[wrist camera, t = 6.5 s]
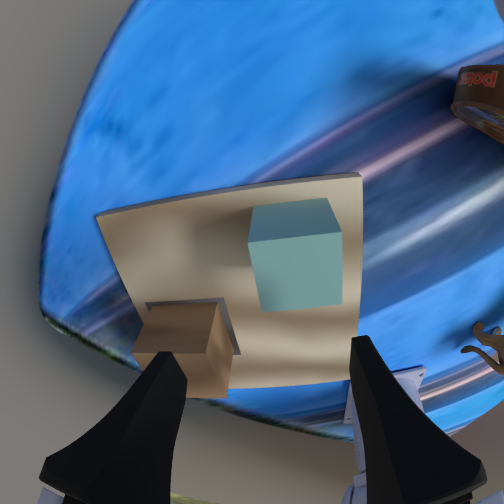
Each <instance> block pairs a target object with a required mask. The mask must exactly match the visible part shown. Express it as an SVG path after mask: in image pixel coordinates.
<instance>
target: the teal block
mask: <svg viewBox="0 0 504 504" xmlns="http://www.w3.org/2000/svg"><path fill="white" fill-rule="evenodd" d="M247 243H248V248H249V253H250V258H251V262H252V267H253V272H254V277H255V282H256V287H257V292H258V296H259V301H260V306H261V311H262V313H264V312H275V311H286V310H296V309H306V308H315V307H324V306H332V305H340V304H342V286H343V256H342V231H341V228H340V226H339V224H338V221H337V219H336V217H335V214H334V212H333V210H332V207H331V205H330V203H329V201H328V198H319V199H310V200H301V201H292V202H284V203H276V204H268V205H260V206H253V212H252V218H251V224H250V230H249V236H248V242H247Z"/></svg>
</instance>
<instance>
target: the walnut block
mask: <svg viewBox="0 0 504 504" xmlns="http://www.w3.org/2000/svg"><path fill="white" fill-rule="evenodd" d="M159 351H172V353H173V355H174V357H175V359H176V360H177V362H178V364H179V366H180V367H181V369H182V371H183V372H184V374H185V376H186V377H187V379H188V382H187V392H186V397H188V398H227V393H228V386H229V379H230V372H231V365H232V359H233V352H234V349H233V346H232V343H231V340H230V337H229V335H228V332H227V329H226V326H225V323H224V320H223V317H222V314H221V311H220V308H219V304H218V302H209V303H196V304H181V305H165V306H152V308H151V310H150V312H149V314H148V316H147V318H146V320H145V322H144V325H143V327H142V329H141V331H140V333H139V336H138V338H137V340H136V342H135V344H134V347H133V349H132V351H131V354H132V355H133V357H134V358H135V360H136V361H137V363H138V364H139V366H140V367H141V369H142V370H143V371H144V370H145V368H146V367H147V366H148V365H149V363H150V362H151V361H152V359H153V358H154V357H155V356H156V354H157V353H158V352H159Z"/></svg>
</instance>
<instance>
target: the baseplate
mask: <svg viewBox="0 0 504 504" xmlns="http://www.w3.org/2000/svg"><path fill="white" fill-rule="evenodd" d="M319 198H328V201H329V203H330V205H331V207H332V210H333V212H334V214H335V217H336V219H337V221H338V224H339V226H340V228H341V231H342V256H343V286H342V304H340V305H332V306H324V307H315V308H306V309H296V310H286V311H275V312H264V313H262V311H261V306H260V301H259V296H258V292H257V287H256V282H255V277H254V272H253V267H252V262H251V258H250V253H249V248H248V243H247V242H248V236H249V230H250V224H251V218H252V212H253V206H260V205H268V204H276V203H284V202H292V201H301V200H310V199H319ZM96 219H97V222H98V224H99V227H100V229H101V232H102V234H103V237H104V239H105V242H106V244H107V247H108V249H109V251H110V254H111V256H112V258H113V261H114V263H115V265H116V268H117V270H118V272H119V274H120V276H121V279H122V281H123V283H124V285H125V287H126V289H127V291H128V293H129V296H130V298H131V300H132V302H133V304H134V306H135V308H136V310H137V312H138V314H139V316H140V317H141V319H142V321H143V323H144V322H145V320H146V318H147V316H148V314H149V312H150V310H151V308H152V306H165V305H181V304H196V303H209V302H218V304H219V308H220V311H221V314H222V317H223V320H224V323H225V326H226V329H227V332H228V335H229V337H230V340H231V343H232V346H233V349H234V352H233V359H232V365H231V372H230V379H229V386H228V389H234V388H266V387H283V386H296V385H307V384H317V383H326V382H334V381H342V380H349V379H350V372H349V364H350V352H351V338H352V337H357V331H358V321H359V309H360V295H361V278H362V253H363V192H362V176H361V175H360V174H359V173H347V174H336V175H325V176H316V177H306V178H297V179H289V180H281V181H273V182H265V183H258V184H251V185H244V186H237V187H230V188H224V189H218V190H211V191H205V192H199V193H194V194H188V195H182V196H177V197H172V198H166V199H161V200H156V201H151V202H146V203H141V204H136V205H132V206H127V207H122V208H118V209H113V210H109V211H105V212H101V213H100V214H99V215H98V216H97V217H96Z"/></svg>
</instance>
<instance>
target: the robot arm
mask: <svg viewBox="0 0 504 504" xmlns="http://www.w3.org/2000/svg"><path fill="white" fill-rule="evenodd" d="M426 371H427V369H426V367H425V366H422V367H418V368H413V369H409V370H404V371H399V372H394V373H391V371H390V370H389V368H388V367H387V365H386V364H385V362H384V361H383V359H382V358H381V356H380V355H379V353H378V351H377V350H376V348H375V346H374V344H373V343H372V341H371V339H370V337H369V336H367V335H365V336H358V337H352V338H351V352H350V364H349V372H350V380H351V382H350V384H349V390H348V397H347V403H346V409H345V415H344V420H343V421H344V424H350V423H352V425H353V432H354V440H355V449H356V458H357V464H358V467H359V475H356V476H354V484H351V485H350V486H349V487H348V489H347V491H346V492H345V494H344V496H343V499H342V503H341V504H470V500H471V499H472V498H473V497H472V491H473V490H475V489H477V488H479V487H480V486H482V485H484V484H485V483H486V482H487V476H486V472H485V469H484V466H483V464H482V462H481V460H480V459H478V458H477V457H476V456H474V455H473V454H471V453H470V452H468V451H467V450H465V449H464V448H462V447H461V446H460V445H459V444H457V443H456V442H455V441H454V440H452V439H451V438H450V437H449V436H448V435H447V434H445V433H444V432H443V431H442V430H441V429H440V428H439V427H438V426H436V425H435V424H434V423H433V422H432V421H431V420H430V419H429V418H428V417H427V416H426V415H425V413H424V410H423V406H422V403H421V399H420V396H419V393H418V389H419V386H420V384H421V382H422V380H423V378H424V375H425V373H426ZM187 382H188V379H187V377H186V376H185V374H184V372H183V371H182V369H181V367H180V366H179V364H178V362H177V360H176V359H175V357H174V355H173V353H172V351H159V352H158V353H157V354H156V356H155V357H154V358H153V359H152V361H151V362H150V363H149V365H148V366H147V367H146V368H145V370H144V371H143V372H142V374H141V375H140V376H139V378H138V379H137V380H136V381H135V383H134V384H133V385H132V386H131V388H130V389H129V390H128V392H127V393H126V394H125V395H124V396H123V397H122V399H121V400H120V401H119V402H118V403H117V404H116V405H115V406H114V408H113V409H112V410H111V411H110V412H109V413H108V414H107V415H106V416H105V417H104V418H103V419H102V420H101V421H99V422H98V423H97V424H96V425H95V426H94V427H93V428H91V429H90V430H89V431H88V432H86V433H85V434H84V435H83V436H81V437H80V438H79V439H77V440H76V441H74V442H73V443H71V444H70V445H69V446H67V447H65V448H63V449H62V450H60V451H58V452H56V453H54V454H52V455H50V456H49V457H47V458H46V460H45V462H44V465H43V468H42V470H41V473H40V476H39V479H40V480H41V481H42V482H44V483H46V484H48V485H49V486H51V487H53V488H55V489H57V490H59V491H60V492H63V493H64V494H65V496H64V498H63V497H61V496H59V495H57V494H55V493H53V492H52V491H49V490H48V489H46V488H42V491H41V494H40V497H39V500H38V503H37V504H170V483H171V468H172V459H173V450H174V446H175V440H176V436H177V433H178V429H179V424H180V421H181V417H182V413H183V409H184V405H185V400H186V392H187ZM474 504H504V497H503V492H502V491H501V490H500V491H498V492H496V493H495V494H493V495H491V496H489V497H487V498H485V499H483V500H481V501H479V502H476V503H474Z"/></svg>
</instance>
